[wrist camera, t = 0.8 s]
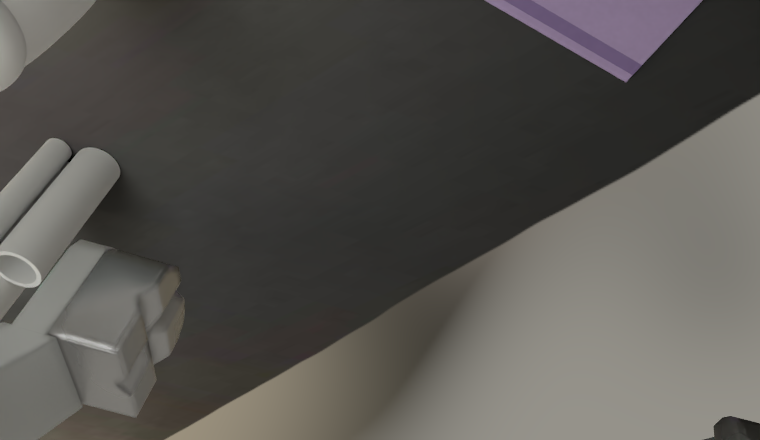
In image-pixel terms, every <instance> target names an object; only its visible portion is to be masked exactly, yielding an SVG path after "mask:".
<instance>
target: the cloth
mask: <svg viewBox="0 0 760 440" xmlns="http://www.w3.org/2000/svg"><path fill="white" fill-rule="evenodd" d="M485 1H487V2H488V3H490V4H492V5H494V6H495V7H497V8H499V9H501V10H502V11H504V12H506V13H507V14H509V15H511V16H513V17H514V18H516V19H518V20H519V21H521V22H523V23H525V24H526V25H528V26H530V27H532V28H533V29H535V30H537V31H538V32H540V33H542V34H544V35H545V36H547V37H549V38H550V39H552V40H554V41H556V42H557V43H559V44H561V45H563V46H564V47H566V48H568V49H569V50H571V51H573V52H575V53H576V54H578V55H580V56H581V57H583V58H585V59H587V60H588V61H590V62H592V63H594V64H595V65H597V66H599V67H600V68H602V69H604V70H606V71H607V72H609V73H611V74H612V75H614V76H616V77H618V78H619V79H621V80H623V81H625V82H627V81H628V79H629V78H630V77H631V76H632V75H633V74H634V73H635V72H636V71H637V70H638V69H639V68H640V67H641V66H642V65H643V63H644V62H645V61H646V60H647V59H648V58H649V57H650V56H651V55H652V54H653V53H654V52H655V51H656V50H657V49H658V47H659V46H660V45H661V44H662V43H663V42H664V41H665V40H666V39H667V38H668V37H669V36H670V35H671V34H672V33H673V31H674V30H675V29H676V28H677V27H678V26H679V25H680V24H681V23H682V22H683V21H684V20H685V19H686V18H687V17H688V15H689V14H690V13H691V12H692V11H693V10H694V9H695V8H696V7H697V6H698V5H699V4H700V3H701V2H702V1H703V0H485Z"/></svg>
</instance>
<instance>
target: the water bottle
mask: <svg viewBox="0 0 760 440" xmlns="http://www.w3.org/2000/svg"><path fill="white" fill-rule="evenodd" d="M95 1H96V0H0V91H2V90H4V89H6V88H7V87H9V86H10V85H11V84H12V83H13V82H15V81H16V79H17V78H18V77H19V76H20V74H21V73H22V71H23V68H24V67H25V66H26V65H28V64H29V63H31V62H32V61H33V60H35V59H36V58H37V57H38V56H40V55H41V54H42V53H43V52H45V51H46V50H47V49H48V48H49V47H50V46H52V45H53V44H54V43H55V42H56V41H57V40H58V39H59V38H60V37H61V36H63V35H64V34H65V33H66V32H67V31H68V30H69V29H70V28H71V27H72V26H73V25H74V24H75V23H76V22H77V21H78V20H79V19H80V18H81V17H82V16H83V15H84V14H85V13H86V12H87V11H88V10H89V8H90V7H91V6H92V5H93V4H94V3H95Z"/></svg>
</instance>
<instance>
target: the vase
mask: <svg viewBox="0 0 760 440" xmlns="http://www.w3.org/2000/svg"><path fill="white" fill-rule="evenodd" d="M71 155H72V151H71V149H70V147H69V146H68V145H67V144H66V143H65V142H64V141H62V140H60V139H57V138H50V139H49V140H47V141H46V142H45V143H44V145H43V146H42V147H41V148H40V149H39V150H38V151H37V152H36V153H35V155H34V156H33V157H32V158H31V159H30V160H29V161H28V162H27V163H26V165H25V166H24V167H23V168H22V169H21V170H20V171H19V172H18V173H17V174H16V176H15V177H14V178H13V179H12V180H11V181H10V182H9V183H8V184H7V186H6V187H5V188H4V189H3V190H2V191H1V192H0V320H1V319H2V318H3V316H4V315H5V314H6V312H7V311H8V310H9V309H10V307H11V306H12V305H13V303H14V302H15V301H16V299H17V298H18V297H19V295H20V294H21V293H22V291H23V290H24V289H25V288H26V287H35V286H38V285H39V284H40V283H41V281H42V280H43V279H44V277H45V276H46V275H47V273H48V272H49V271H50V269H51V268H52V267H53V265H54V264H55V263H56V261H57V260H58V258H59V257H60V256H61V254H62V253H63V252H64V250H65V249H66V248H67V246H68V245H69V244H70V242H71V241H72V240H73V238H74V237H75V236H76V234H77V233H78V232H79V230H80V229H81V228H82V226H83V225H84V224H85V222H86V221H87V220H88V218H89V217H90V216H91V214H92V213H93V212H94V210H95V209H96V208H97V206H98V205H99V204H100V202H101V201H102V200H103V198H104V197H105V196H106V194H107V193H108V192H109V190H110V189H111V188H112V186H113V185H114V184H115V182H116V181H117V180H118V178H119V177H120V168H119V165H118V163H117V162H116V160H115V159H114V158H113V157H112V156H111V155H109V154H108V153H106V152H105V151H103V150H100V149H98V148H91V147H88V148H83V149H82V150H80V151H79V152H78V153H77V154H76V155H75V157H74V158H73V159H72V160H71V161H70V162H67V161H68V159H69V158H70V157H71Z"/></svg>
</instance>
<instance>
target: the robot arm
mask: <svg viewBox="0 0 760 440" xmlns="http://www.w3.org/2000/svg"><path fill="white" fill-rule="evenodd" d="M180 282H181V277H180V272H179V267H177V266H174V265H170V264H166V263H163V262H159V261H156V260H152V259H149V258H145V257H142V256H138V255H135V254H131V253H128V252H124V251H120V250H117V249H115V248H111V247H108V246H104V245H100V244H97V243H93V242H89V241H85V240H82V239H80V240H79V241H78V242H76V243H75V244H73V245H72V246H71V247H69V248H68V250H67V251H66V252H65V254H64V255H63V256H62V258H61V259H60V260H59V262H58V263H57V264H56V266H55V267H54V268H53V270H52V271H51V272H50V274H49V275H48V276H47V278H46V279H45V280H44V282H43V283H42V284H41V286H40V287H39V288H38V290H37V291H36V292H35V294H34V295H33V296H32V298H31V299H30V300H29V302H28V303H27V304H26V306H25V307H24V308H23V310H22V311H21V312H20V314H19V315H18V316H17V318H16V319H15V320H14V322H13V323H12V324H9V323H5V322H1V323H0V440H38V439H39V438H41V437H42V436H44V435H45V434H46V433H48V432H49V431H50V430H52V429H53V428H55V427H56V426H57V425H59V424H60V423H62V422H63V421H64V420H66V419H67V418H68V417H70V416H71V415H73V414H74V413H75V412H77V411H78V410H80V409H81V408H82V407H83V405H82V404H86V405H90V406H93V407H97V408H101V409H105V410H109V411H112V412H116V413H120V414H124V415H128V416H131V417H135V418H136V417H137V415H138V413H139V411H140V409H141V408H142V406H143V404H144V402H145V400H146V398H147V396H148V395H149V393H150V391H151V389H152V387H153V385H154V384H155V382H156V376H155V371H154V366H153V365H154V364H156V363H157V362H159V361H161V360H163V359H164V358H166V357H168V356H169V355H170V354H171V352H172V350H173V348H174V346H175V344H176V342H177V340H178V337H179V334H180V331H181V328H182V325H183V322H184V313H185V305H184V298H183V297H182V296H181V295H180V294H179V293H178V292H177V291H176V289H177V287H178V285H179V284H180ZM714 436H715V437H712V438H709V439H704V440H760V424H759V423H756V422H752V421H748V420H744V419H740V418H736V417H732V416H729V417H724V418H722V419H721V420H720V421H719V422H717V423H716V424H715V425H714Z"/></svg>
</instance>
